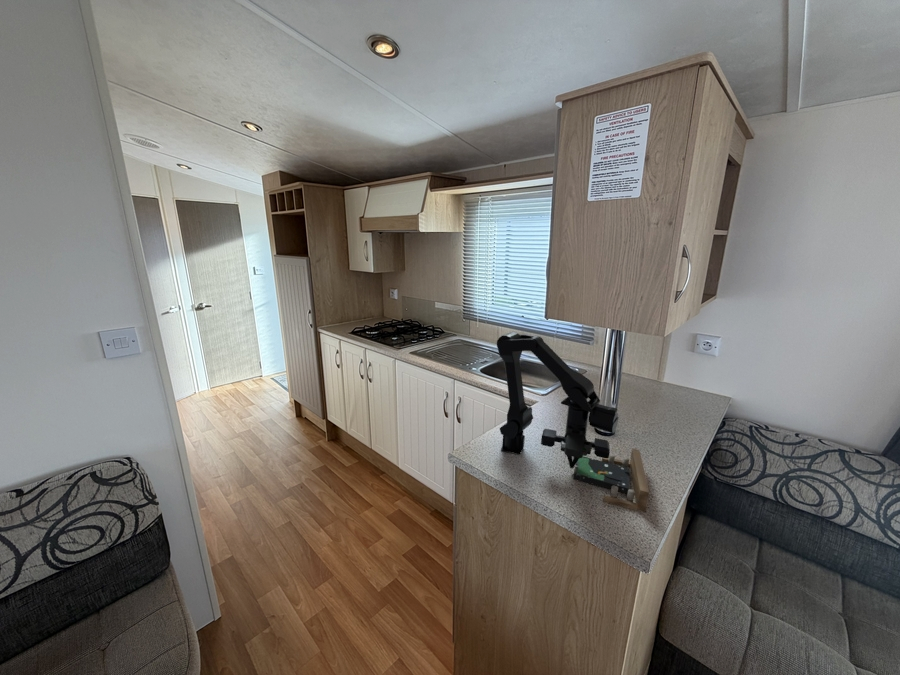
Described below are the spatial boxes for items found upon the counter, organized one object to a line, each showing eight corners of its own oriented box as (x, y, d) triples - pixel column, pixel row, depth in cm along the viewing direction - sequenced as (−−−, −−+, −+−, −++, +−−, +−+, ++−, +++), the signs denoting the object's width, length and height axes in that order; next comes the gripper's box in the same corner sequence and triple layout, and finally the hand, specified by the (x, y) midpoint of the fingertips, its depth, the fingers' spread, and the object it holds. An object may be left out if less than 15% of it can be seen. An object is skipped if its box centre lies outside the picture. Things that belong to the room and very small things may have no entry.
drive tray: (603, 501, 94) (606, 482, 92) (601, 459, 112) (604, 443, 110) (645, 512, 90) (649, 492, 89) (636, 466, 109) (639, 449, 107)
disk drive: (628, 475, 105) (576, 461, 112) (630, 467, 105) (577, 454, 111) (628, 497, 96) (572, 481, 103) (630, 488, 96) (573, 472, 102)
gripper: (540, 427, 98) (536, 476, 102) (613, 441, 91) (606, 492, 95) (545, 410, 108) (541, 455, 112) (611, 422, 101) (604, 468, 105)
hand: (571, 467), depth 106 cm, fingers closed
